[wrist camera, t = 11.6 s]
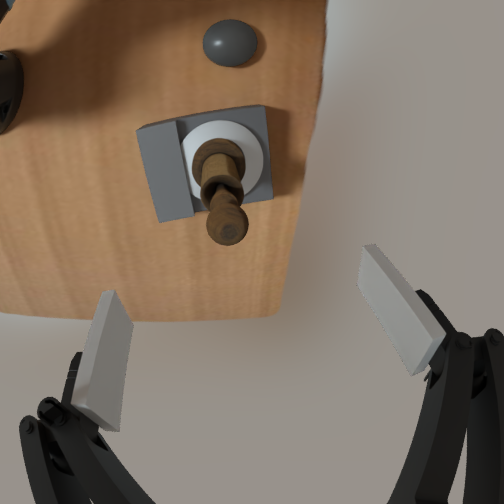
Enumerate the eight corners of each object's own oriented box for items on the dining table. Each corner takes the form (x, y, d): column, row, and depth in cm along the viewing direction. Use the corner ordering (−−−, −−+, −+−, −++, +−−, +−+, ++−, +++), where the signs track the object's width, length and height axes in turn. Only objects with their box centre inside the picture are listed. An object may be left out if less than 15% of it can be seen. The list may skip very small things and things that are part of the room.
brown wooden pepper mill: (190, 140, 31) (174, 192, 17) (243, 136, 32) (277, 183, 17) (194, 189, 35) (188, 277, 20) (244, 185, 36) (275, 268, 21)
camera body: (163, 207, 41) (159, 222, 36) (144, 124, 33) (135, 130, 29) (267, 188, 42) (275, 202, 37) (259, 104, 34) (266, 106, 30)
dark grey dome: (206, 70, 31) (206, 69, 30) (200, 25, 27) (200, 23, 26) (258, 63, 31) (259, 63, 30) (252, 19, 27) (254, 17, 26)
